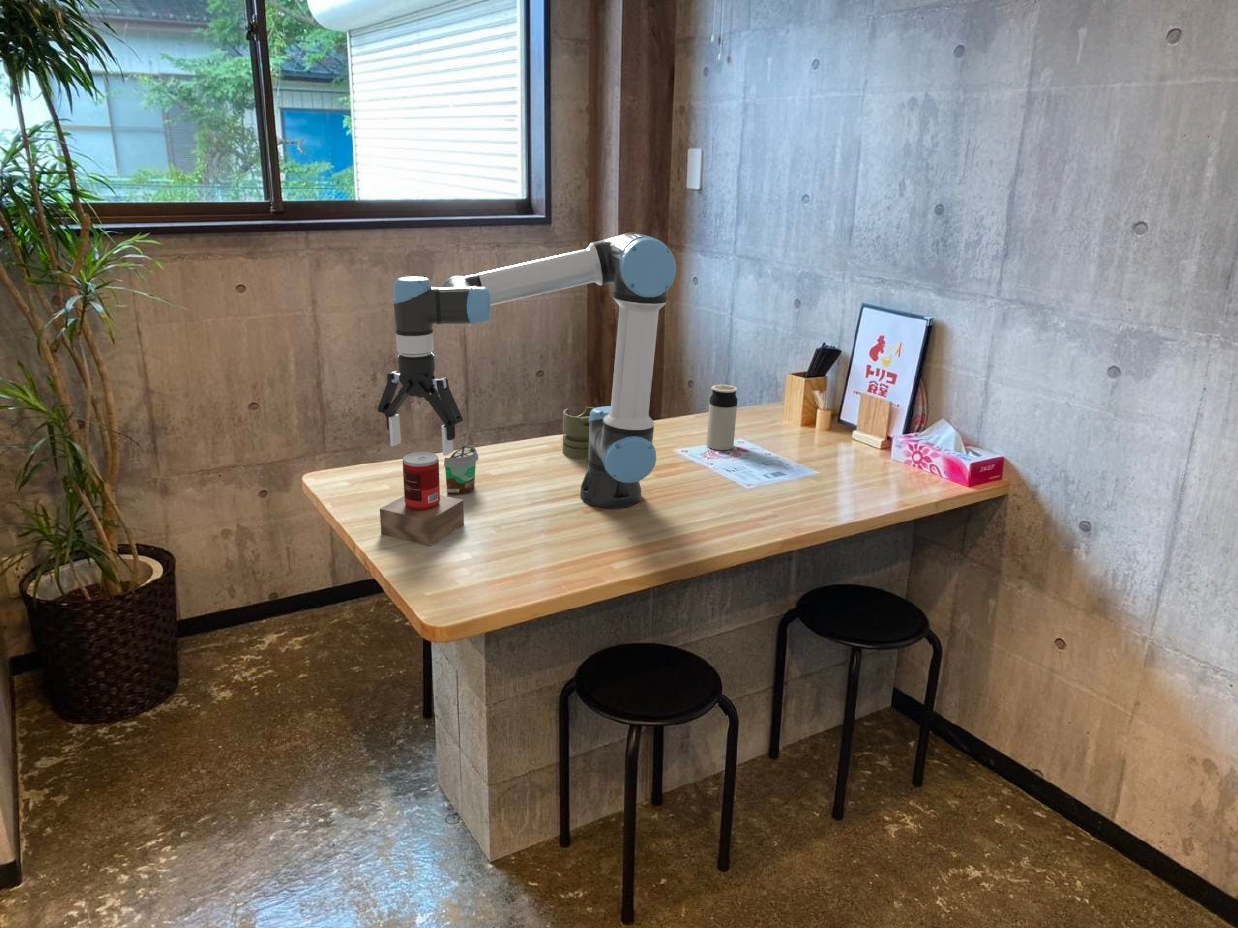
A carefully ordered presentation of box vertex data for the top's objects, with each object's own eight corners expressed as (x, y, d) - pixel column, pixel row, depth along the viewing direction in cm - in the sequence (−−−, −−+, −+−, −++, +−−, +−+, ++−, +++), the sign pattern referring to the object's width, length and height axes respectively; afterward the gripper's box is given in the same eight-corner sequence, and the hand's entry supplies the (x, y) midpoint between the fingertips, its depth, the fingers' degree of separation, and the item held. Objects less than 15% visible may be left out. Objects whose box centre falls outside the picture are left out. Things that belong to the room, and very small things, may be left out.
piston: (610, 415, 244) (572, 419, 240) (608, 456, 248) (571, 461, 244) (593, 405, 254) (557, 408, 249) (592, 444, 258) (556, 448, 253)
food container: (468, 499, 215) (467, 461, 211) (444, 496, 216) (443, 458, 212) (486, 482, 226) (485, 445, 223) (463, 479, 227) (462, 443, 224)
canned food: (441, 497, 200) (440, 451, 196) (438, 511, 192) (436, 463, 188) (407, 497, 199) (405, 451, 195) (402, 511, 191) (400, 463, 188)
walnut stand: (463, 524, 201) (463, 500, 199) (430, 545, 190) (429, 520, 187) (416, 513, 206) (415, 489, 204) (381, 533, 194) (379, 508, 192)
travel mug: (734, 451, 257) (739, 391, 251) (707, 450, 257) (711, 390, 251) (731, 443, 264) (736, 384, 258) (705, 441, 264) (709, 383, 258)
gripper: (476, 355, 183) (480, 452, 190) (378, 343, 192) (385, 435, 199) (456, 363, 176) (460, 463, 183) (355, 350, 185) (364, 445, 193)
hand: (421, 449), depth 191 cm, fingers open, 13 cm apart
